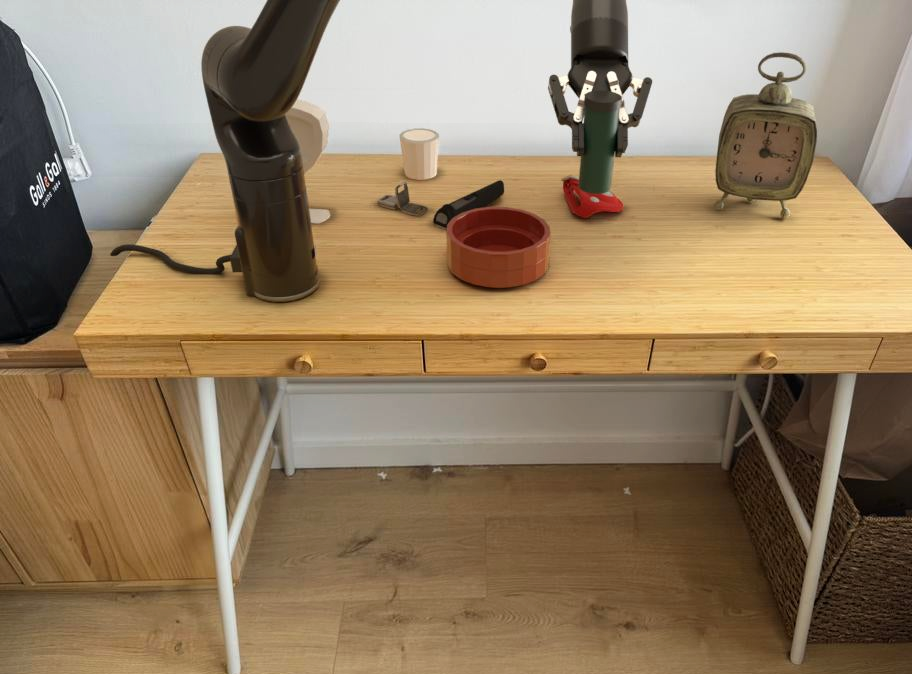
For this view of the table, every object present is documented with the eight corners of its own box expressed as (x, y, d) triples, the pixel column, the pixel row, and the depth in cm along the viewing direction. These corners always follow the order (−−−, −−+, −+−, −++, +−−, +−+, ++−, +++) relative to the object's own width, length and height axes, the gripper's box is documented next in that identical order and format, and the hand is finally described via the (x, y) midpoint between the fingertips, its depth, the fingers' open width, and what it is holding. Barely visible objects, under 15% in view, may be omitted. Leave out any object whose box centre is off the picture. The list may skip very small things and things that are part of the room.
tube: (578, 194, 108) (586, 102, 101) (575, 179, 112) (583, 89, 104) (613, 194, 108) (624, 102, 101) (609, 180, 112) (619, 90, 105)
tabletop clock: (705, 213, 134) (734, 56, 119) (708, 191, 141) (736, 40, 126) (796, 224, 131) (838, 65, 116) (794, 201, 138) (833, 48, 123)
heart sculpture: (235, 218, 128) (212, 104, 118) (245, 205, 132) (224, 93, 122) (332, 224, 128) (318, 110, 117) (339, 210, 132) (327, 98, 121)
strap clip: (375, 205, 134) (373, 181, 131) (386, 198, 136) (384, 174, 133) (419, 217, 130) (417, 192, 128) (429, 210, 133) (428, 185, 130)
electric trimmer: (510, 200, 137) (510, 182, 135) (449, 231, 127) (448, 212, 125) (492, 194, 139) (493, 176, 137) (431, 224, 129) (430, 205, 127)
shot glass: (398, 167, 146) (395, 129, 142) (435, 164, 148) (434, 126, 143) (405, 183, 141) (403, 143, 136) (444, 179, 142) (443, 140, 138)
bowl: (445, 292, 112) (444, 253, 109) (449, 242, 124) (448, 205, 120) (550, 293, 113) (553, 254, 109) (545, 243, 124) (547, 207, 121)
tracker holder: (632, 196, 136) (617, 205, 127) (622, 220, 138) (606, 231, 129) (568, 166, 138) (549, 174, 130) (559, 190, 140) (539, 199, 132)
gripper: (547, 13, 104) (547, 141, 101) (659, 16, 104) (660, 143, 102) (543, 45, 111) (542, 165, 109) (647, 48, 111) (649, 167, 109)
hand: (599, 154), depth 105 cm, fingers closed on tube, 4 cm apart
